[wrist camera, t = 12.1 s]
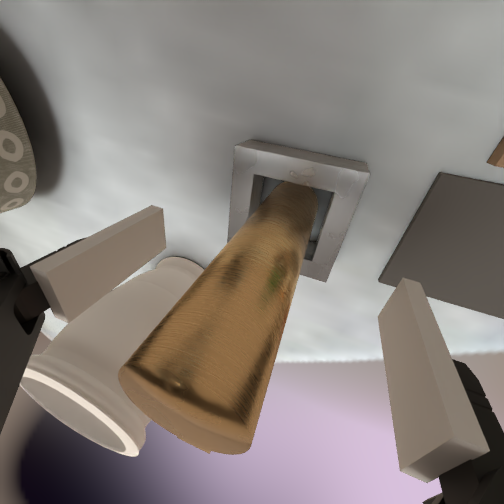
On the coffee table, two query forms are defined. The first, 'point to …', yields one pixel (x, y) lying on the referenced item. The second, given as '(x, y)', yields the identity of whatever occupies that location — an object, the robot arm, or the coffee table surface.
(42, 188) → the coffee table surface
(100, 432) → the jar
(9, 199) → the planter
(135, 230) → the robot arm
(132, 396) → the hook peg
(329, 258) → the eye block
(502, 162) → the wheel base
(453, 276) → the pad
